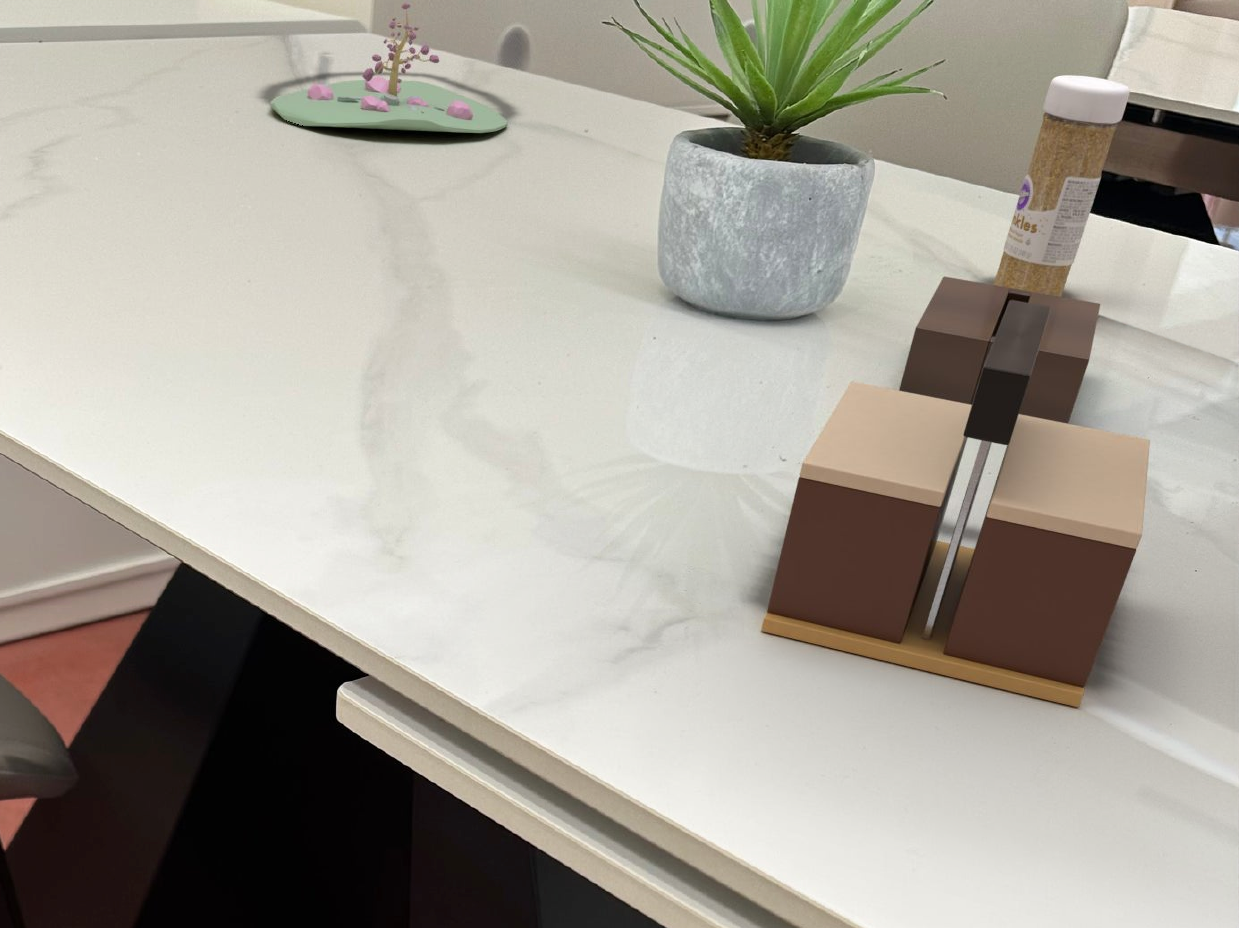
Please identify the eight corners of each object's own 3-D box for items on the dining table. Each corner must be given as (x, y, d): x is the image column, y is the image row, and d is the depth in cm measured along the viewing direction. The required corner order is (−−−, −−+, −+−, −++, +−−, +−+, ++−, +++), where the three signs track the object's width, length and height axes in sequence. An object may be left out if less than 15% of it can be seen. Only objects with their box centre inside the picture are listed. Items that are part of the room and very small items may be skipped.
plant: (270, 78, 152) (274, -33, 146) (489, 94, 153) (500, -15, 148) (269, 134, 132) (273, 8, 126) (521, 152, 133) (535, 28, 128)
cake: (815, 527, 73) (853, 377, 69) (1094, 588, 69) (1150, 435, 66) (760, 631, 64) (799, 466, 60) (1078, 708, 60) (1142, 539, 56)
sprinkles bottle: (972, 300, 106) (1037, 72, 98) (1033, 300, 107) (1102, 74, 99) (1010, 322, 103) (1081, 87, 95) (1072, 322, 104) (1148, 89, 96)
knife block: (924, 345, 97) (943, 276, 95) (1077, 374, 95) (1100, 303, 92) (895, 402, 88) (915, 327, 86) (1064, 435, 86) (1089, 359, 83)
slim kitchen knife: (935, 549, 70) (1009, 299, 64) (973, 557, 70) (1051, 306, 64) (902, 640, 63) (983, 366, 56) (944, 650, 62) (1030, 375, 56)
